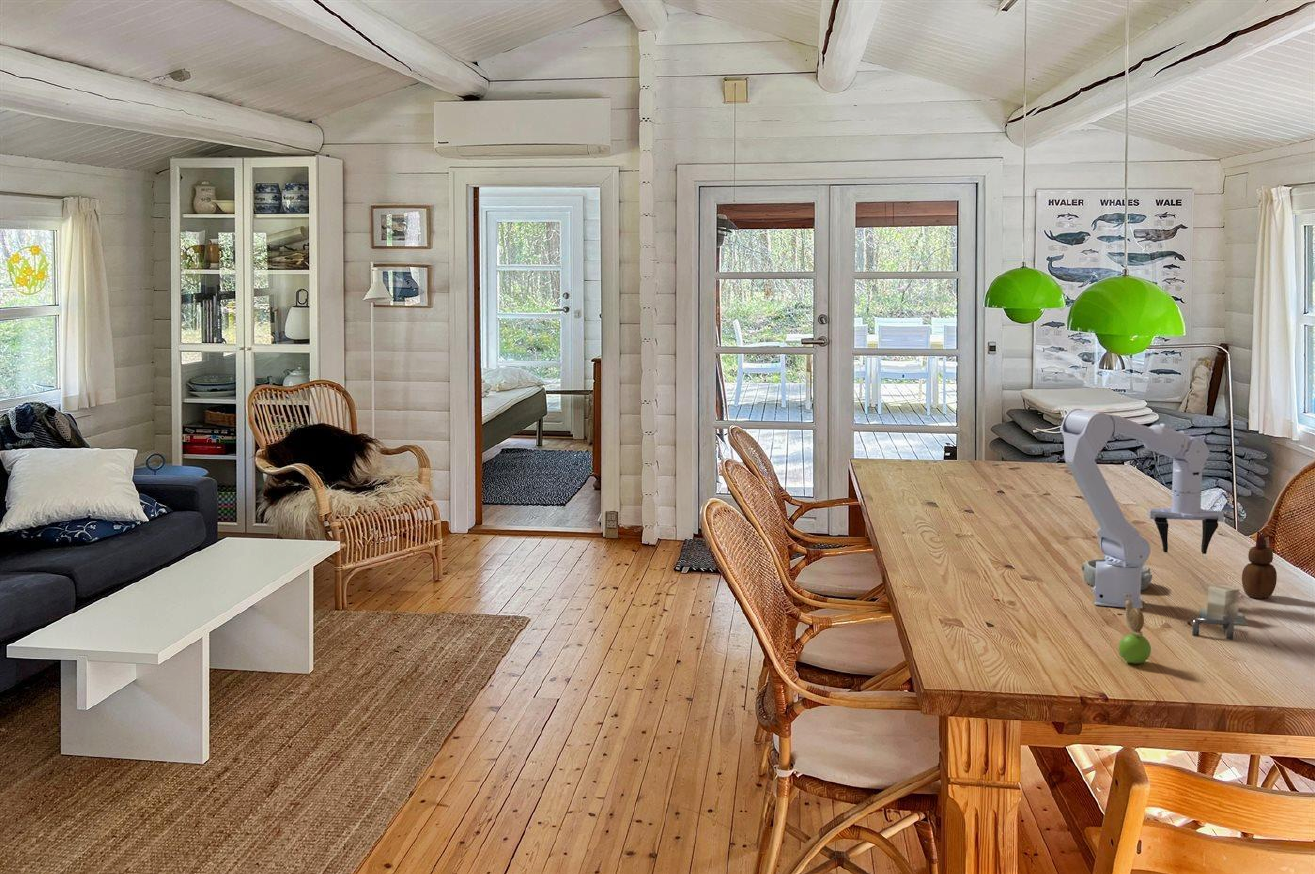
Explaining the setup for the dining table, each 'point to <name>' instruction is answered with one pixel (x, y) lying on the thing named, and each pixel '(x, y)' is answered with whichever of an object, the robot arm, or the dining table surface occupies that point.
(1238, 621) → the mat
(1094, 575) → the dish
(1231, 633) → the bent rod
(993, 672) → the dining table surface
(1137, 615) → the green beige tall piece
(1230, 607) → the ash block
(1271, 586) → the wooden figurine
